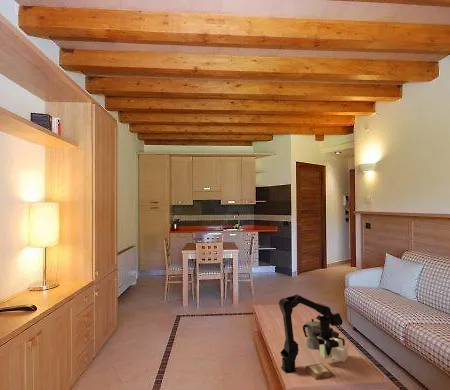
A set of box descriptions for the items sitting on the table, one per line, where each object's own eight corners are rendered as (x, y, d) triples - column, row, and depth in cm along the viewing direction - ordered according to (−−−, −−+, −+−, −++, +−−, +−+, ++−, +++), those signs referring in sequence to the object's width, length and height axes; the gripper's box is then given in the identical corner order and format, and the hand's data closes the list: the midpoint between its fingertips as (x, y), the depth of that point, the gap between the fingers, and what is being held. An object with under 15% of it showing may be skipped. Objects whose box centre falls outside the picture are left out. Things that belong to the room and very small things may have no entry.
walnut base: (315, 379, 169) (315, 374, 169) (306, 370, 179) (305, 365, 179) (331, 376, 172) (331, 371, 172) (321, 367, 181) (321, 363, 182)
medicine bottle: (336, 354, 197) (335, 335, 198) (348, 357, 192) (347, 337, 193) (332, 359, 191) (331, 339, 192) (344, 362, 187) (343, 341, 187)
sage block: (324, 358, 183) (324, 348, 183) (319, 354, 188) (319, 344, 188) (332, 357, 184) (331, 346, 185) (327, 353, 189) (326, 343, 189)
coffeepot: (315, 341, 217) (314, 315, 218) (326, 346, 209) (324, 319, 210) (298, 346, 210) (297, 319, 210) (308, 352, 201) (307, 323, 202)
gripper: (346, 330, 180) (347, 358, 179) (327, 319, 198) (328, 345, 197) (329, 333, 177) (330, 361, 176) (311, 322, 195) (312, 347, 194)
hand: (325, 353), depth 186 cm, fingers closed on sage block, 5 cm apart
